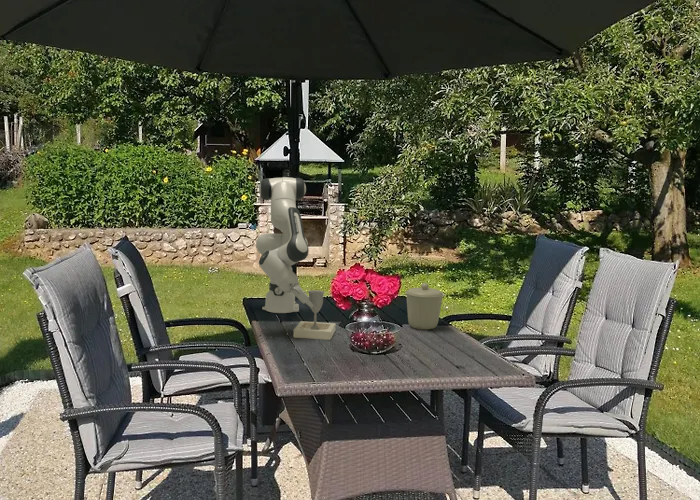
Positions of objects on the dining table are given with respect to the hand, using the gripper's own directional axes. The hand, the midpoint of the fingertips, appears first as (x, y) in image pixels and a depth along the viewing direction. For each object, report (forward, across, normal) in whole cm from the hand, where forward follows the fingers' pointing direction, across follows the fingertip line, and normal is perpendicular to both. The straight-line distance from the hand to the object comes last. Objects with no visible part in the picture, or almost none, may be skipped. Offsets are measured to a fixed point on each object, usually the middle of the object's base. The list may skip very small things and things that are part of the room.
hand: (310, 304), depth 300 cm
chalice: (+11, 0, +7) cm, 13 cm away
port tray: (+11, 0, +8) cm, 14 cm away
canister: (+49, +8, -30) cm, 58 cm away
